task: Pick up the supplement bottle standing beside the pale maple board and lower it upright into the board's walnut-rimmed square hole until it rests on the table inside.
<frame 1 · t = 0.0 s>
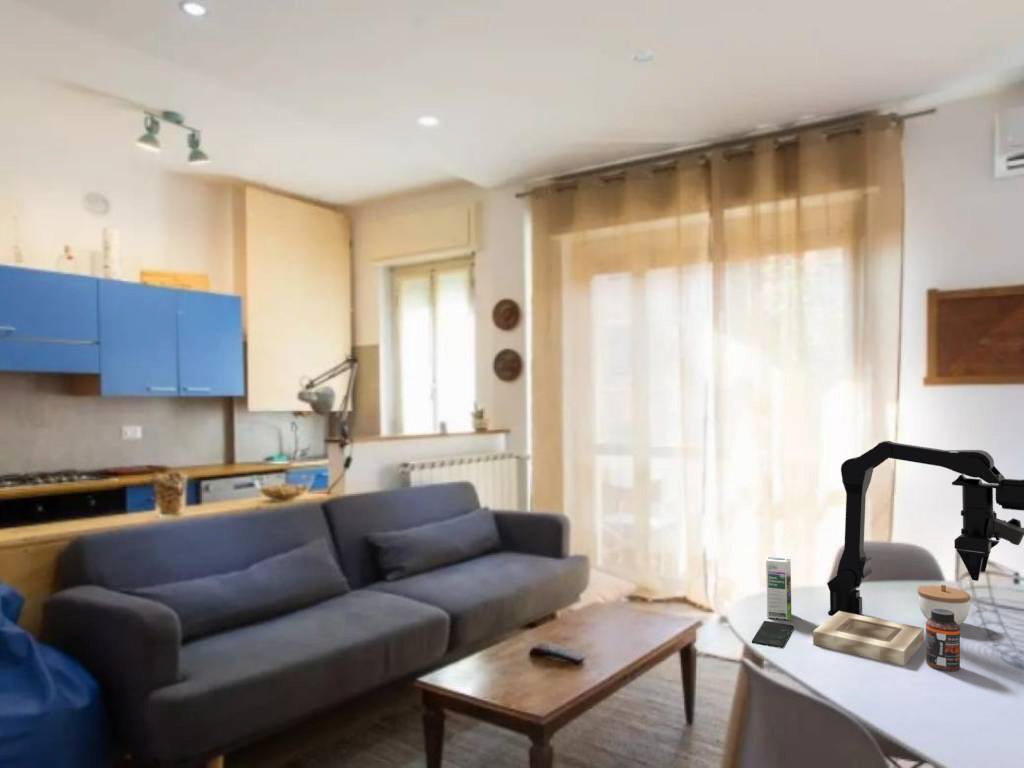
hand: (978, 576, 153), 15 cm above the table, fingers open, 9 cm apart
maple socket board: (868, 642, 152), on the table
lidded jar: (943, 624, 164), on the table
syrup box: (779, 616, 171), on the table
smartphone: (773, 637, 158), on the table
supplement bottle: (943, 667, 139), on the table
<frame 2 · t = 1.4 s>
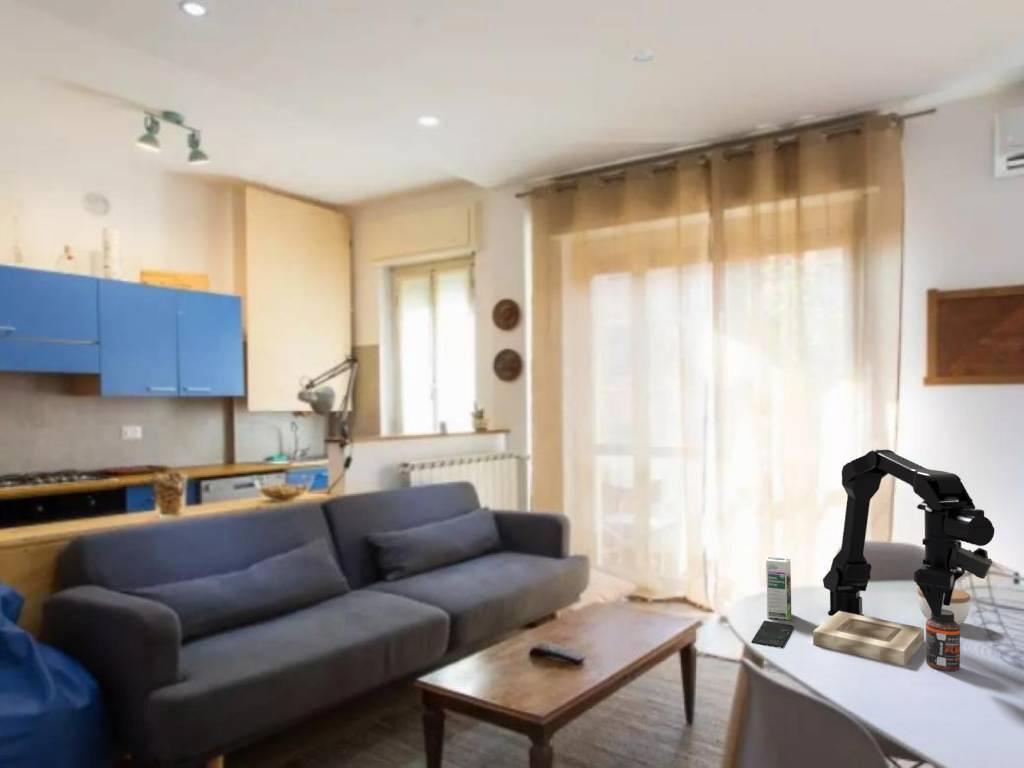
hand: (941, 610, 140), 11 cm above the table, fingers open, 9 cm apart
nothing on the table moved.
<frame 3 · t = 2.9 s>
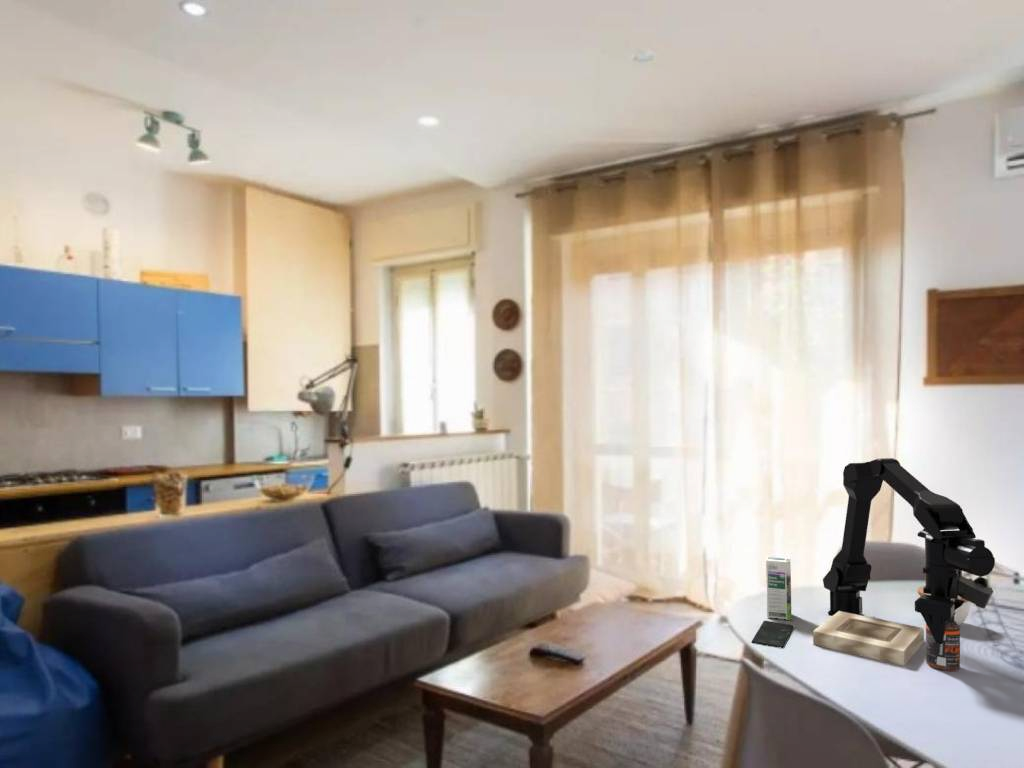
hand: (942, 639, 139), 6 cm above the table, fingers closed on supplement bottle, 6 cm apart
supplement bottle: (943, 667, 139), on the table, touching gripper
everything else where it was.
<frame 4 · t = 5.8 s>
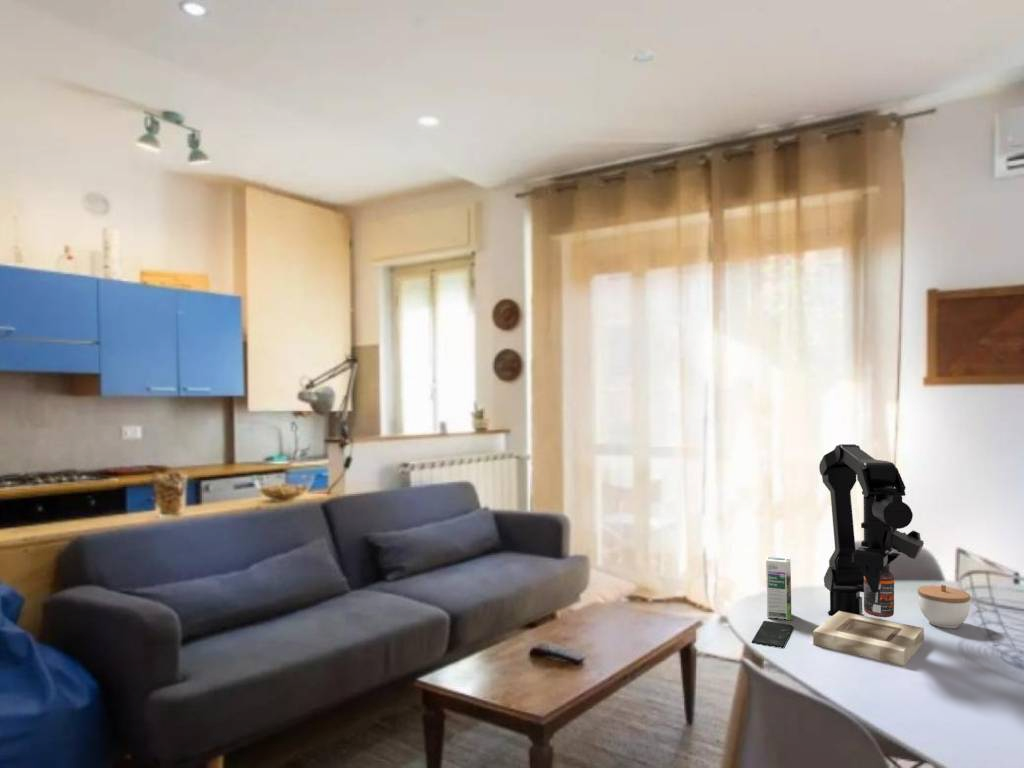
hand: (878, 588, 151), 13 cm above the table, fingers closed on supplement bottle, 6 cm apart
supplement bottle: (878, 614, 151), point 7 cm above the table, touching gripper
everything else where it was.
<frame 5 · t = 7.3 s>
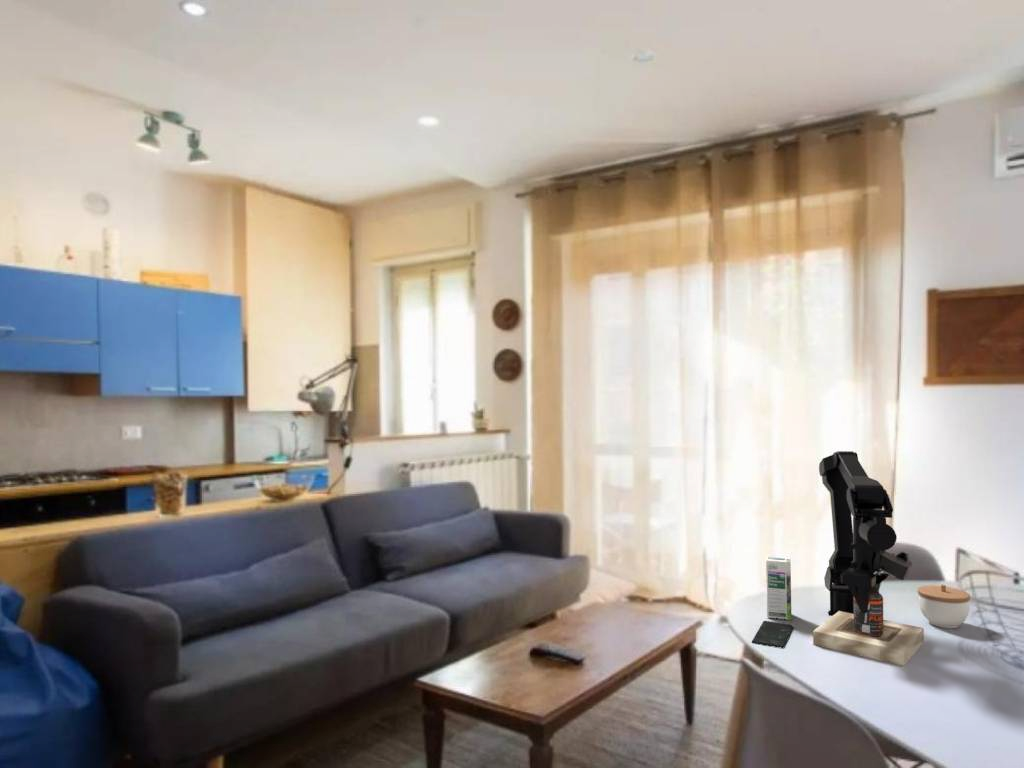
hand: (868, 609, 153), 8 cm above the table, fingers closed on supplement bottle, 6 cm apart
supplement bottle: (868, 634, 153), point 2 cm above the table, touching gripper
everything else where it was.
when the fingers open (6 cm above the table, at t = 8.5 s): supplement bottle stays where it is, resting in maple socket board.
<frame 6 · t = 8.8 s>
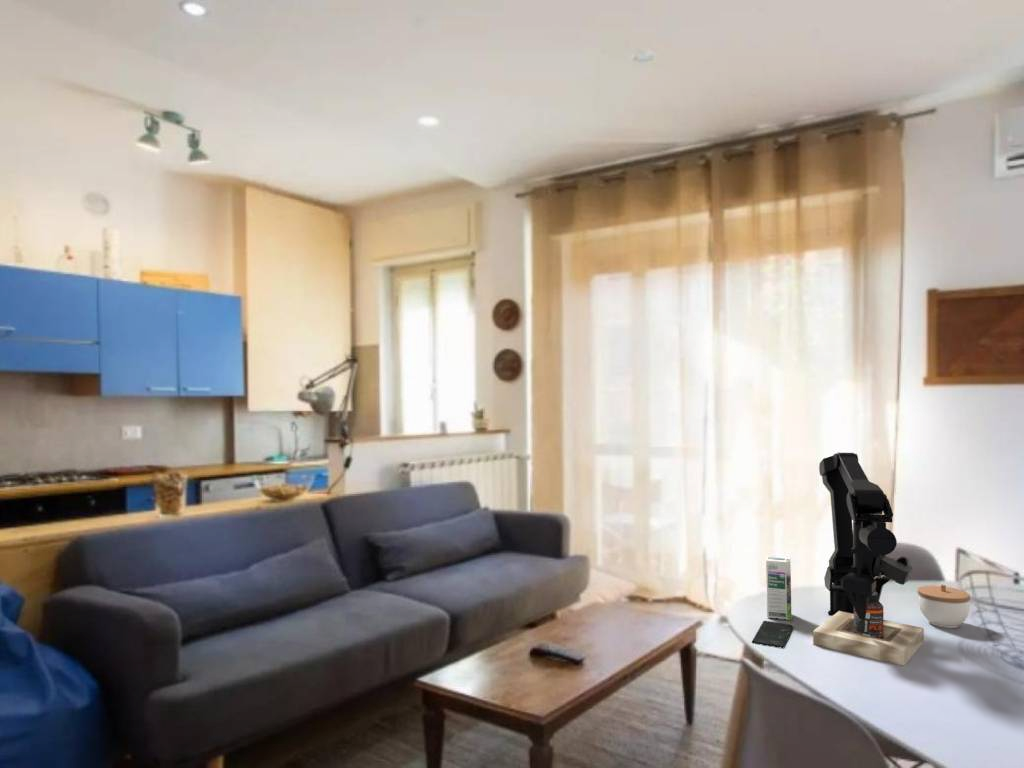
hand: (868, 613, 152), 6 cm above the table, fingers open, 9 cm apart
supplement bottle: (868, 643, 153), resting in maple socket board
everything else where it was.
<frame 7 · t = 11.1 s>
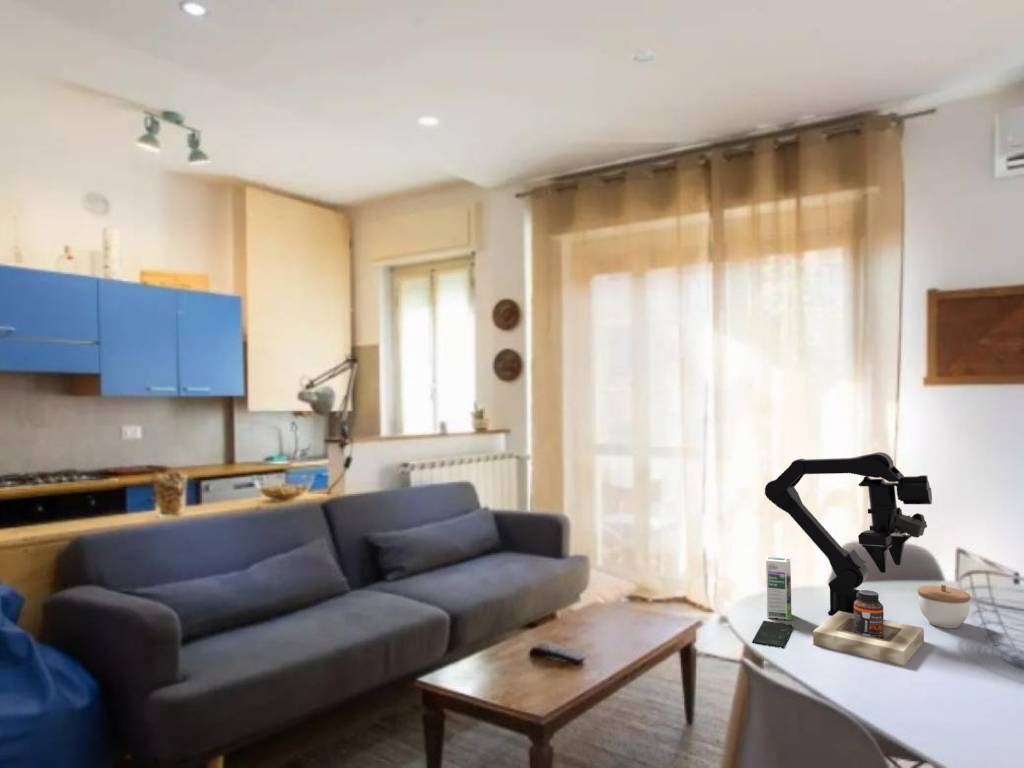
hand: (890, 568, 165), 13 cm above the table, fingers open, 9 cm apart
nothing on the table moved.
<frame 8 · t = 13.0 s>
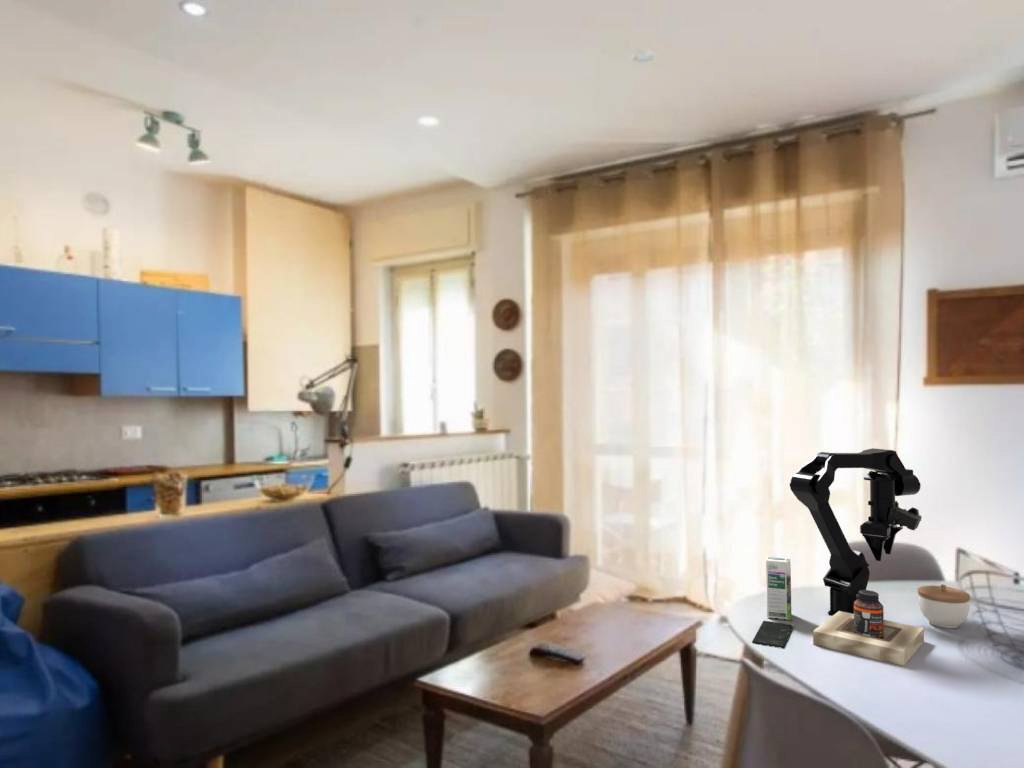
hand: (883, 557, 177), 13 cm above the table, fingers open, 9 cm apart
nothing on the table moved.
at the end: supplement bottle 0.1 cm off-centre on the maple socket board, point 0.0 cm above the maple socket board's base; supplement bottle tilted 0°; the gripper is holding nothing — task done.
